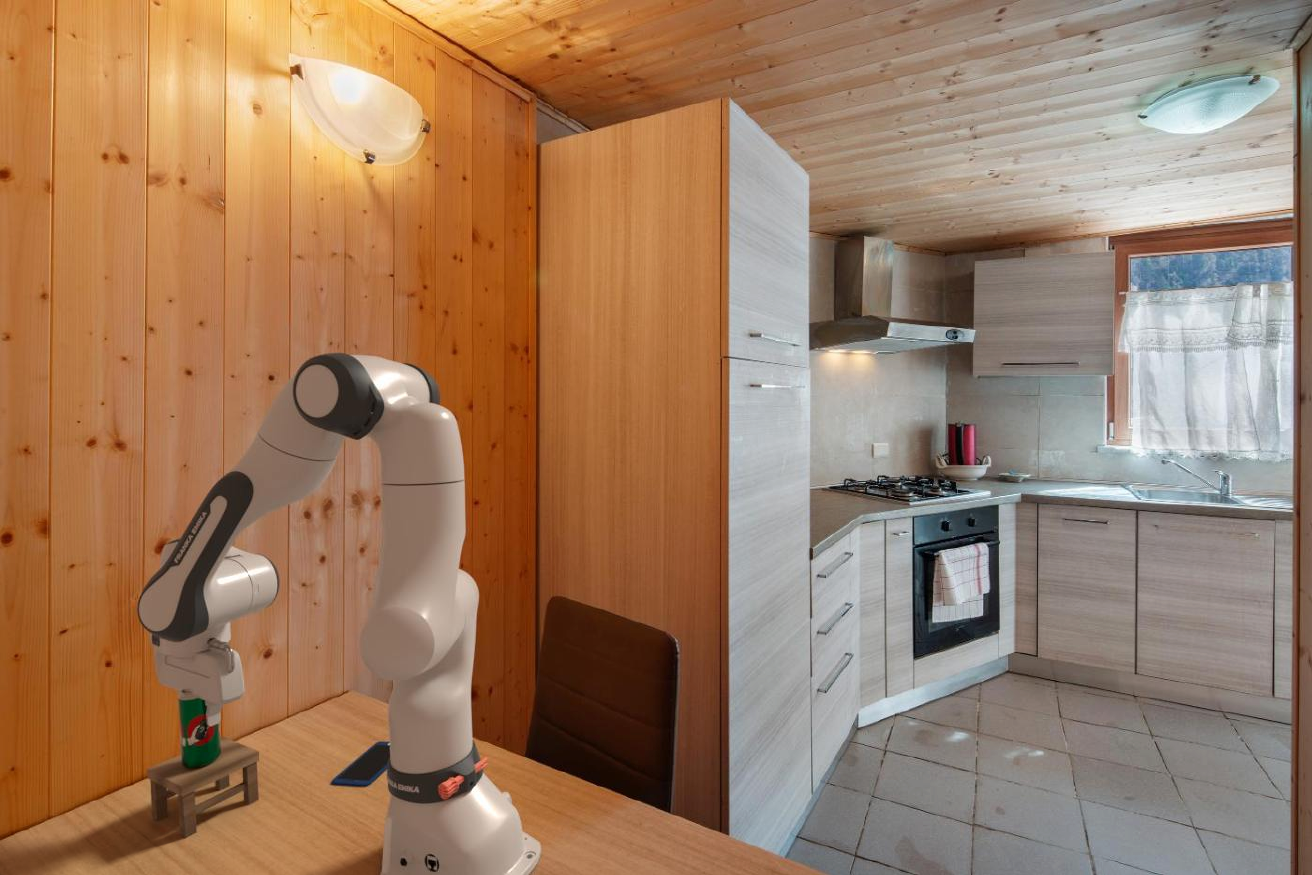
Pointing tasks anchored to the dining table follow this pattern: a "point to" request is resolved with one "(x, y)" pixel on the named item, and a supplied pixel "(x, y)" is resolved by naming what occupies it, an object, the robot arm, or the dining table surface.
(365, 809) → the dining table surface
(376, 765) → the cell phone
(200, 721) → the soda can
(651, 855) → the dining table surface
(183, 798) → the stool
